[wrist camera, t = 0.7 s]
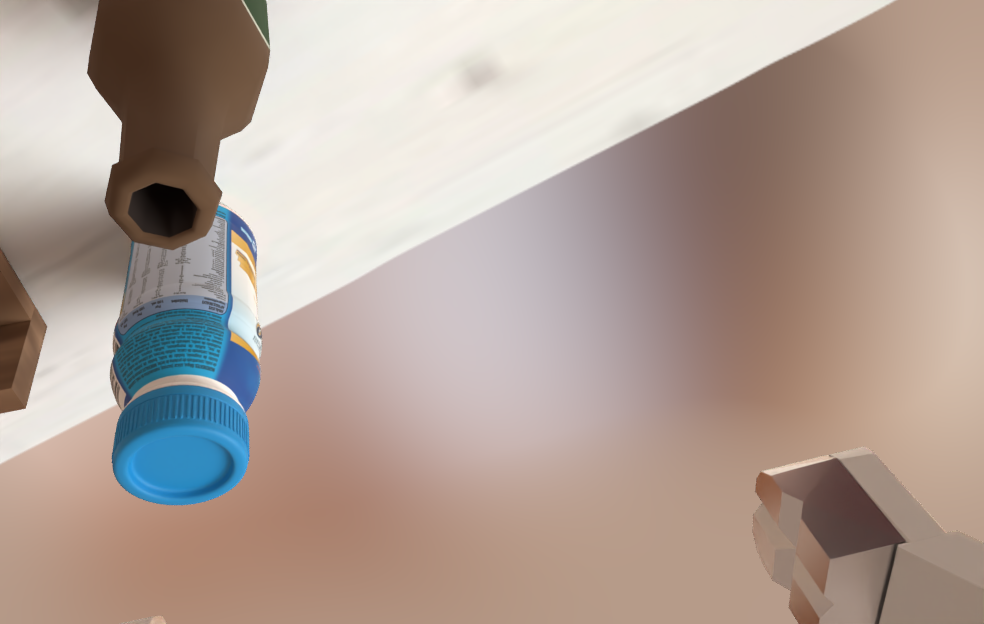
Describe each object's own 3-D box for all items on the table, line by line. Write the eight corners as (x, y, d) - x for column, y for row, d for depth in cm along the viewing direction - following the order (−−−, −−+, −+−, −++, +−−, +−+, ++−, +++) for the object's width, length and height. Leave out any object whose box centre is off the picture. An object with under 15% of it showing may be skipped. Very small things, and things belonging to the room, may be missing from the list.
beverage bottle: (178, 169, 51) (156, 391, 37) (283, 235, 56) (299, 452, 42) (104, 250, 54) (56, 488, 39) (211, 306, 59) (203, 533, 44)
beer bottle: (97, -107, 40) (-8, 113, 23) (254, -106, 42) (267, 100, 24) (133, 41, 45) (69, 312, 28) (272, 37, 47) (293, 290, 30)
